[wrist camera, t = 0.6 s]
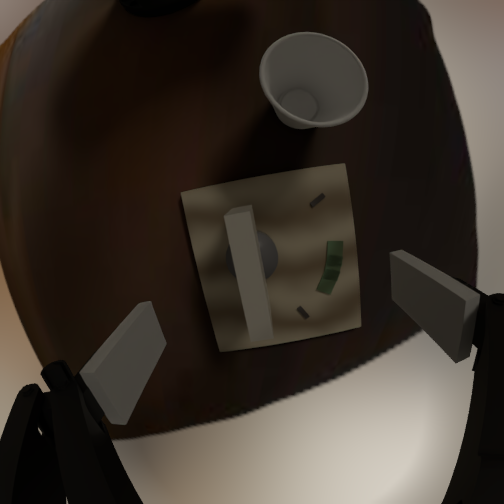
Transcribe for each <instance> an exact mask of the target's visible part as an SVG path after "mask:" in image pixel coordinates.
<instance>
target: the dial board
mask: <svg viewBox="0 0 504 504" xmlns="http://www.w3.org/2000/svg"><path fill="white" fill-rule="evenodd" d="M181 197H182V201H183V206H184V211H185V216H186V220H187V225H188V229H189V234H190V238H191V243H192V247H193V251H194V256H195V260H196V264H197V268H198V272H199V276H200V280H201V284H202V288H203V292H204V296H205V300H206V304H207V307H208V311H209V315H210V318H211V322H212V326H213V329H214V333H215V336H216V340H217V343H218V347H219V350H220V352H225V351H233V350H241V349H248V348H255V347H262V346H268V345H274V344H280V343H286V342H291V341H297V340H302V339H307V338H312V337H317V336H322V335H327V334H332V333H336V332H341V331H345V330H349V329H353V328H358V327H361V310H360V288H359V273H358V260H357V249H356V239H355V230H354V221H353V213H352V206H351V199H350V192H349V185H348V179H347V173H346V167H345V163H344V164H336V165H328V166H320V167H313V168H306V169H300V170H293V171H287V172H281V173H275V174H269V175H263V176H258V177H252V178H247V179H242V180H236V181H231V182H226V183H222V184H217V185H212V186H207V187H203V188H198V189H194V190H190V191H185V192H181ZM247 205H252V209H253V214H254V220H255V225H256V230H259V231H262V232H264V233H266V234H267V235H268V236H269V237H270V238H271V239H272V240H273V241H274V243H275V246H276V248H277V252H278V264H277V267H276V269H275V271H274V273H273V274H272V275H271V276H270V277H269V278H267V279H266V284H267V289H268V295H269V300H270V307H271V316H272V326H273V335H274V338H273V339H267V340H260V341H254V342H251V340H250V336H249V331H248V327H247V322H246V318H245V314H244V309H243V304H242V300H241V295H240V291H239V286H238V282H237V278H235V277H234V276H233V275H232V274H231V273H230V271H229V269H228V267H227V264H226V251H227V248H228V246H229V239H228V234H227V229H226V224H225V220H224V215H225V214H227V213H228V212H229V211H230V210H231V209H232V208H236V207H242V206H247Z"/></svg>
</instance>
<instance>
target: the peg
mask: <svg viewBox="0 0 504 504" xmlns="http://www.w3.org/2000/svg"><path fill="white" fill-rule="evenodd" d="M224 220H225V224H226V229H227V234H228V239H229V246H228V248H227V251H226V264H227V267H228V269H229V271H230V273H231V274H232V275H233V276H234V277H235V278H237V282H238V286H239V291H240V295H241V300H242V304H243V309H244V314H245V318H246V322H247V327H248V331H249V336H250V340H251V342H254V341H260V340H267V339H273V338H274V335H273V326H272V316H271V307H270V300H269V295H268V289H267V284H266V279H267V278H269V277H270V276H271V275H272V274H273V273H274V271H275V269H276V267H277V264H278V252H277V248H276V246H275V243H274V241H273V240H272V239H271V238H270V237H269V236H268V235H267V234H266V233H264V232H262V231H259V230H256V225H255V220H254V214H253V209H252V205H247V206H242V207H236V208H232V209H231V210H230V211H229V212H228V213H227V214H225V215H224Z"/></svg>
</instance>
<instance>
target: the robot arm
mask: <svg viewBox="0 0 504 504" xmlns="http://www.w3.org/2000/svg"><path fill="white" fill-rule="evenodd" d="M119 1H120V3H121V4H122V5H123V7H124V8H125V9H126V10H127V11H128V12H130V13H131V14H134V15H137V16H142V17H152V16H160V15H165V14H168V13H172V12H175V11H178V10H180V9H182V8H185V7H187V6H189V5H190V4H192V3H194V2H195V1H197V0H119ZM390 265H391V286H392V300H393V301H394V302H396V303H397V304H398V305H399V306H400V307H401V308H402V309H403V310H404V311H405V312H406V313H407V314H408V315H409V316H410V317H411V318H412V319H413V320H414V321H415V322H416V323H417V324H418V325H419V326H420V327H421V328H422V329H423V330H424V331H425V332H426V333H427V334H428V335H429V336H430V337H431V338H432V339H433V340H434V341H435V342H436V343H437V344H438V345H439V346H440V347H441V348H442V349H443V350H444V351H445V353H447V355H449V357H450V358H451V359H452V360H453V361H454V362H455V363H458V362H460V361H462V360H464V359H466V358H468V357H469V356H470V352H471V348H472V344H473V345H475V347H477V348H478V349H477V354H476V357H475V362H474V365H473V369H472V371H475V373H474V381H473V389H472V396H471V403H470V408H469V414H468V420H467V424H466V429H465V433H464V437H463V441H462V445H461V449H460V453H459V456H458V460H457V463H456V466H455V469H454V472H453V476H452V478H451V481H450V484H449V487H448V489H447V492H446V495H445V497H444V499H443V502H442V503H441V504H504V294H501V293H496V294H492V295H489V296H488V295H486V294H485V293H483V292H481V291H480V290H478V289H476V288H475V287H473V286H471V285H470V284H467V283H466V282H464V281H463V280H461V279H458V278H454V277H450V276H448V275H446V274H445V273H443V272H441V271H439V270H438V269H436V268H434V267H432V266H431V265H429V264H427V263H425V262H423V261H422V260H420V259H418V258H416V257H414V256H412V255H410V254H409V253H407V252H405V251H403V250H398V251H394V252H390ZM166 344H167V343H166V341H165V338H164V336H163V333H162V331H161V328H160V325H159V323H158V320H157V317H156V314H155V312H154V309H153V306H152V303H151V301H149V302H143V303H139V304H138V305H137V306H136V307H135V308H134V309H133V310H132V312H131V313H130V314H129V315H128V316H127V317H126V318H125V319H124V321H123V322H122V323H121V324H120V325H119V326H118V327H117V329H116V330H115V331H114V332H113V333H112V334H111V335H110V337H109V338H108V339H107V340H106V341H105V342H104V344H103V345H102V346H101V347H100V348H99V349H98V350H97V351H96V352H95V353H94V354H93V355H92V356H91V357H90V359H89V360H88V361H87V362H86V364H85V365H84V366H83V367H82V368H81V369H80V371H79V372H78V373H77V374H76V375H75V377H74V376H73V374H72V372H71V371H70V369H69V367H68V365H67V363H66V362H65V361H63V360H58V361H55V362H52V363H50V364H48V365H47V366H46V367H44V369H43V370H42V371H41V376H42V378H43V379H44V381H45V383H46V384H47V386H48V387H49V389H50V392H44V393H43V392H42V391H41V389H40V387H39V386H38V385H37V384H35V383H34V384H29V385H26V386H24V387H23V388H22V389H21V390H20V391H19V393H18V394H17V397H16V399H15V402H14V404H13V406H12V409H11V412H10V414H9V417H8V419H7V422H6V425H5V428H4V431H3V434H2V436H1V439H0V504H66V497H67V501H68V504H143V502H142V501H141V499H140V497H139V495H138V494H137V492H136V490H135V488H134V486H133V484H132V483H131V481H130V479H129V477H128V475H127V473H126V471H125V469H124V467H123V465H122V463H121V461H120V459H119V456H118V454H117V452H116V450H115V448H114V445H113V443H112V441H111V438H110V436H109V433H108V431H107V428H106V426H105V424H104V423H103V422H102V420H101V419H102V417H103V416H104V414H105V415H106V417H107V418H108V419H109V421H110V422H111V424H121V425H126V424H127V422H128V419H129V417H130V415H131V413H132V411H133V409H134V407H135V405H136V403H137V401H138V399H139V397H140V395H141V393H142V391H143V389H144V387H145V385H146V383H147V381H148V379H149V377H150V375H151V373H152V371H153V369H154V367H155V365H156V363H157V361H158V359H159V357H160V355H161V353H162V352H163V350H164V348H165V346H166ZM38 428H39V429H40V430H41V432H42V435H41V434H40V432H39V430H38Z"/></svg>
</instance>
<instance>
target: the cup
mask: <svg viewBox="0 0 504 504" xmlns="http://www.w3.org/2000/svg"><path fill="white" fill-rule="evenodd" d="M259 78H260V83H261V87H262V89H263V91H264V93H265V96H266V97H267V98H268V100H269V101H270V103H271V104H272V105H273V108H274V110H275V112H276V115H277V116H278V118H279V119H280V120H281V121H282V122H283V123H284V124H286V125H287V126H289V127H291V128H295V129H307V128H313V127H333V126H336V125H340V124H343V123H345V122H347V121H349V120H351V119H352V118H353V117H354V116H355V115H357V114H358V113H359V111H360V110H361V109H362V107H363V106H364V103H365V101H366V99H367V94H368V79H367V75H366V72H365V69H364V67H363V65H362V63H361V62H360V60H359V59H358V57H357V56H356V55H355V54H354V53H353V52H352V51H351V50H350V49H349V48H348V47H347V46H345V45H344V44H343V43H341V42H340V41H338V40H336V39H334V38H332V37H329V36H326V35H323V34H319V33H312V32H299V33H294V34H290V35H287V36H285V37H282V38H280V39H279V40H277V41H276V42H274V43H273V44H272V45H271V46H270V47H269V48H268V49H267V50H266V52H265V54H264V55H263V57H262V60H261V63H260V68H259Z"/></svg>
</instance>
